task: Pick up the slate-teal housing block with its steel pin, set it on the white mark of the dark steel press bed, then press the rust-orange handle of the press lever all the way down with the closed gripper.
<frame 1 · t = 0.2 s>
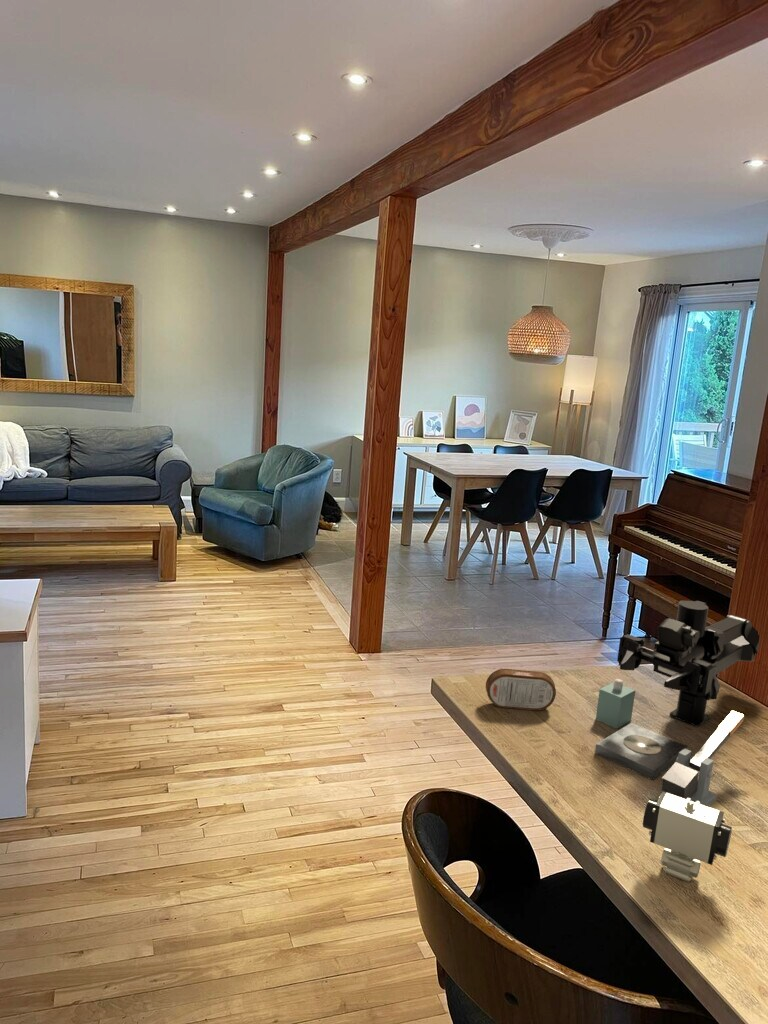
hand: (642, 675, 147), 16 cm above the table, tool horizontal, fingers open, 9 cm apart
lever stand: (689, 797, 136), on the table
press bed: (640, 754, 150), on the table
housing: (613, 719, 164), on the table
press lever: (707, 751, 138), point 7 cm above the table, hinge at 14.0°
tin: (518, 708, 167), on the table
pneumatic valve: (679, 872, 116), on the table
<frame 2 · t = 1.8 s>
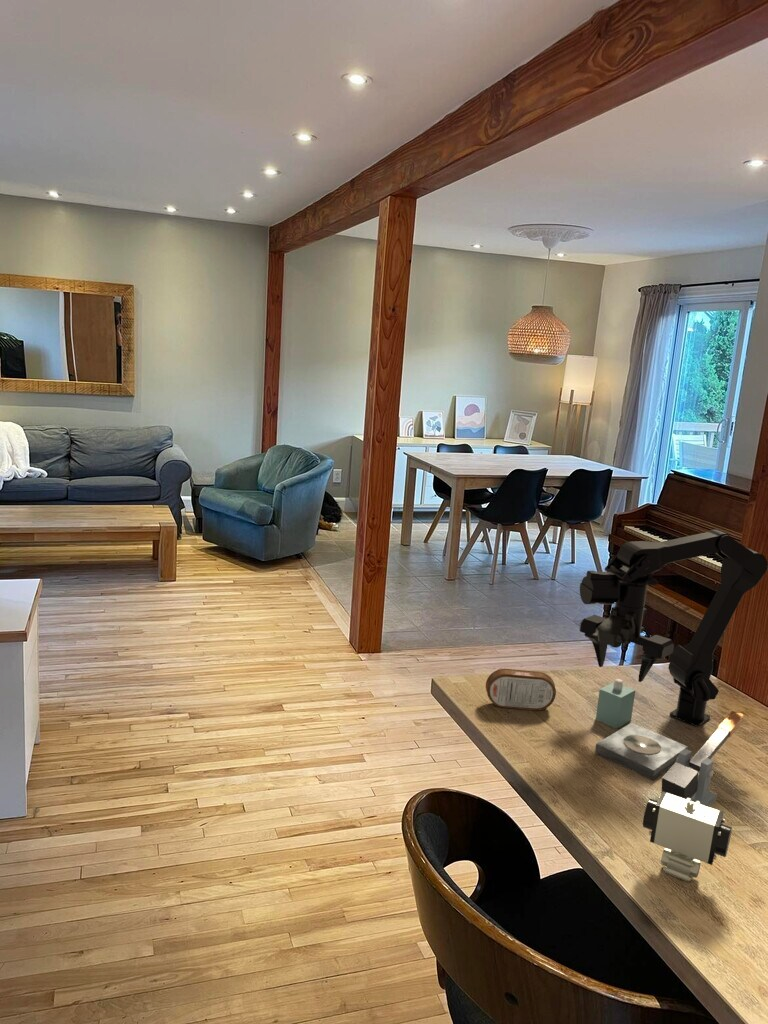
hand: (620, 673, 162), 10 cm above the table, tool pointing down, fingers open, 9 cm apart
nothing on the table moved.
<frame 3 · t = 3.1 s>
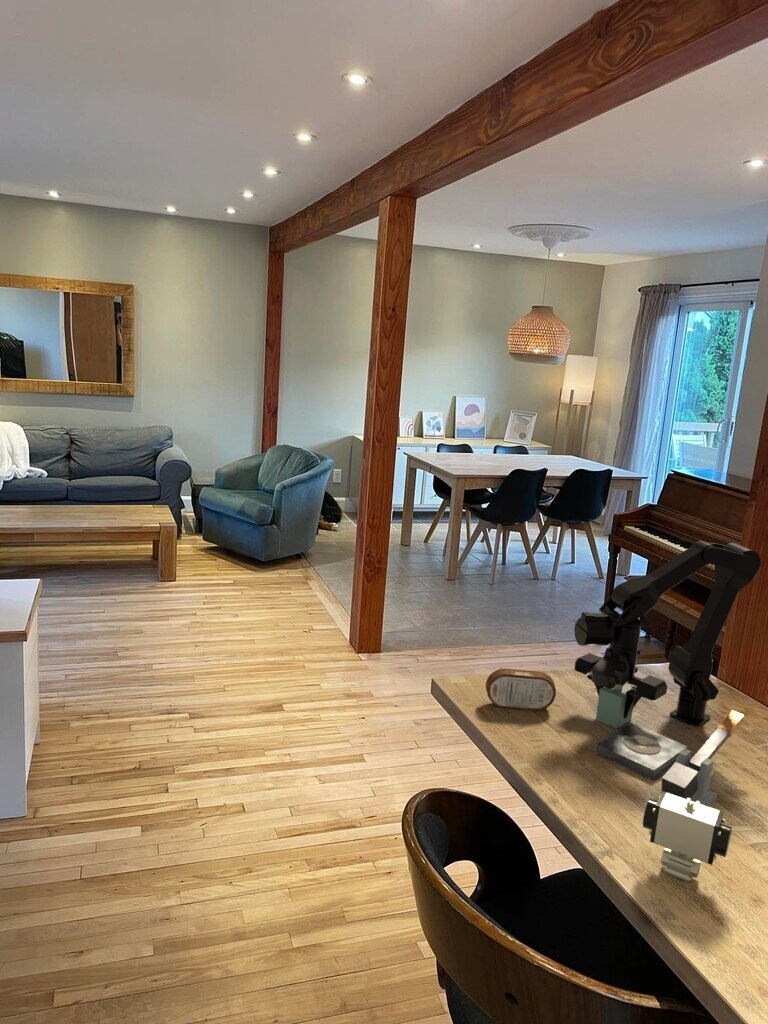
hand: (614, 712, 164), 2 cm above the table, tool pointing down, fingers closed on housing, 5 cm apart
housing: (613, 719, 164), on the table, touching gripper
everything else where it was.
when the fingers open (4 cm above the table, at t = 7.6 s): housing stays where it is, resting on press bed.
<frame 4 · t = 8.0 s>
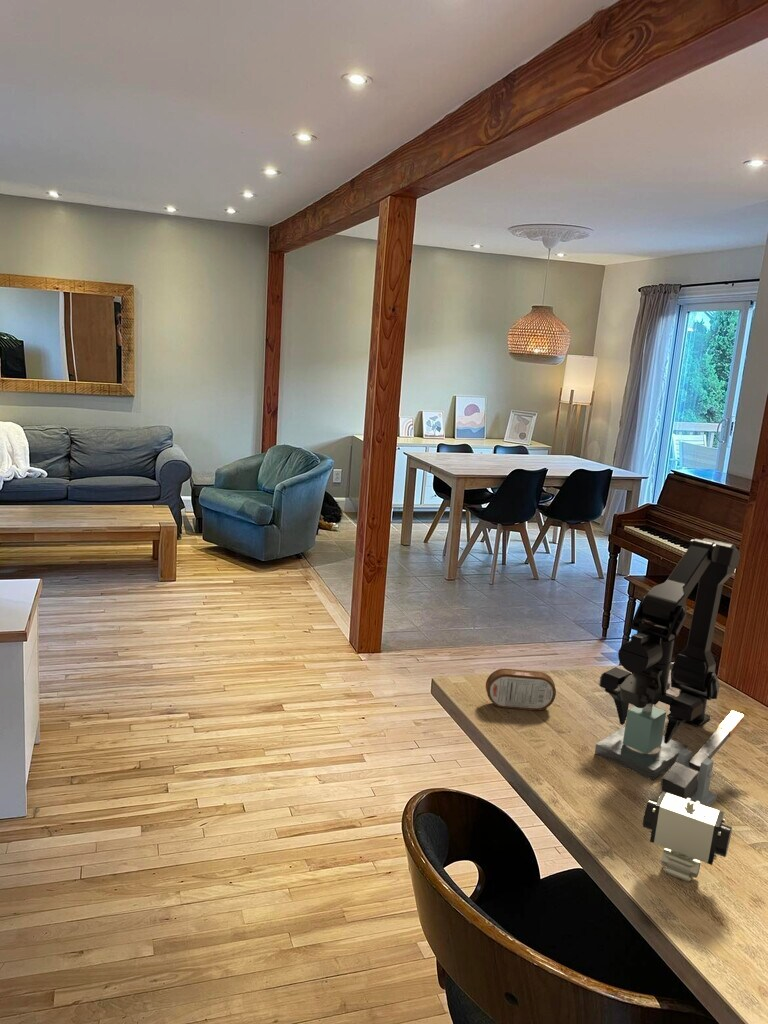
hand: (643, 733, 149), 4 cm above the table, tool pointing down, fingers open, 9 cm apart
housing: (642, 744, 150), point 2 cm above the table, touching press bed
everything else where it was.
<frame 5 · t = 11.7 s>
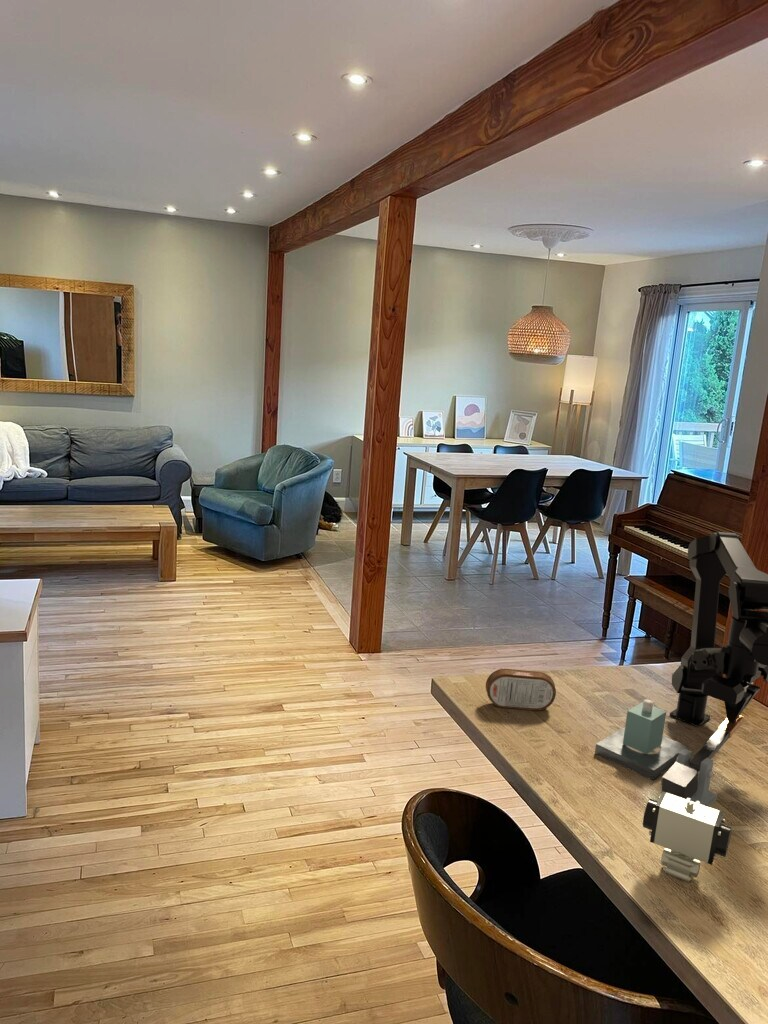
hand: (731, 721, 144), 10 cm above the table, tool pointing down, fingers closed
press lever: (707, 752, 138), point 7 cm above the table, hinge at 13.0°, touching gripper
everything else where it was.
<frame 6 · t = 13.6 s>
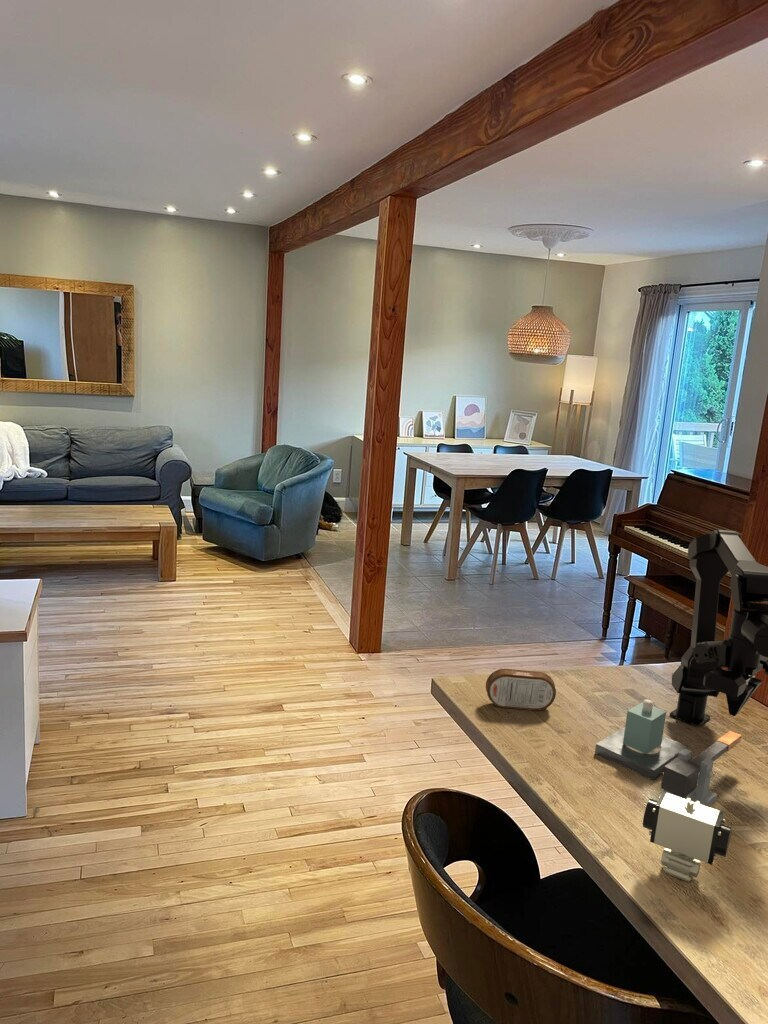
hand: (733, 714, 144), 12 cm above the table, tool pointing down, fingers closed
press lever: (706, 757, 139), point 6 cm above the table, hinge at -0.3°
everything else where it was.
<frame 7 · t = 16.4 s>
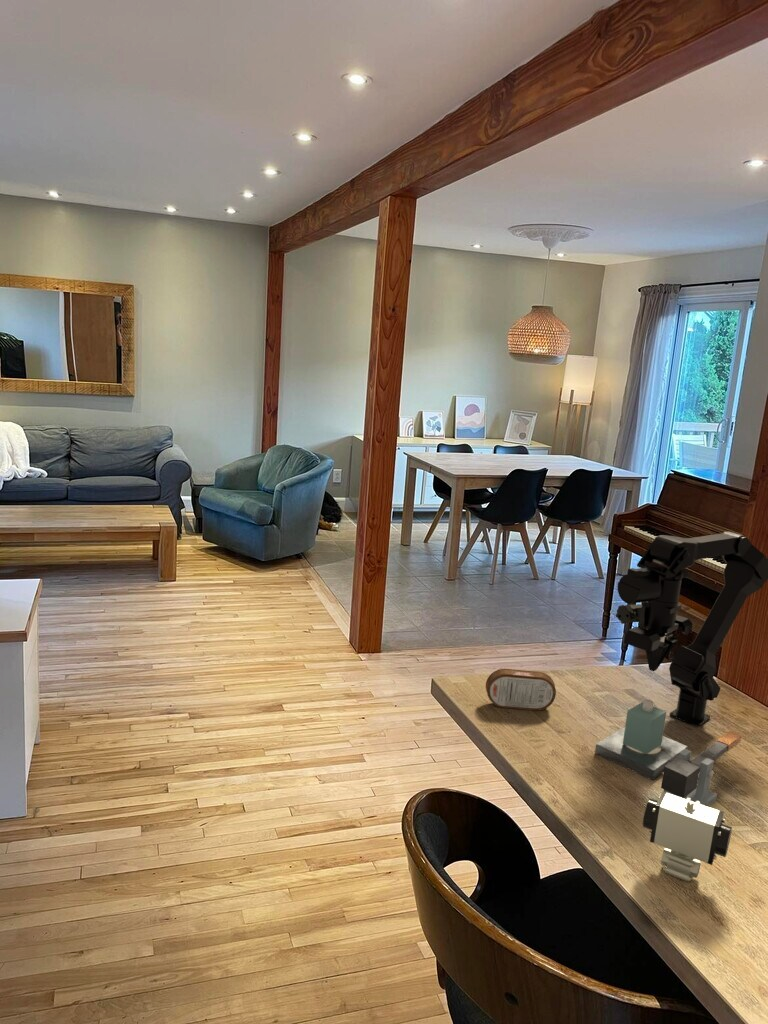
hand: (652, 670, 159), 13 cm above the table, tool pointing down, fingers closed
nothing on the table moved.
at the end: housing inside the target area on the press bed (0.0 cm from its centre), point 2.2 cm above the press bed's base; housing tilted 0°; press lever at +0° (first picture: +14°) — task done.
